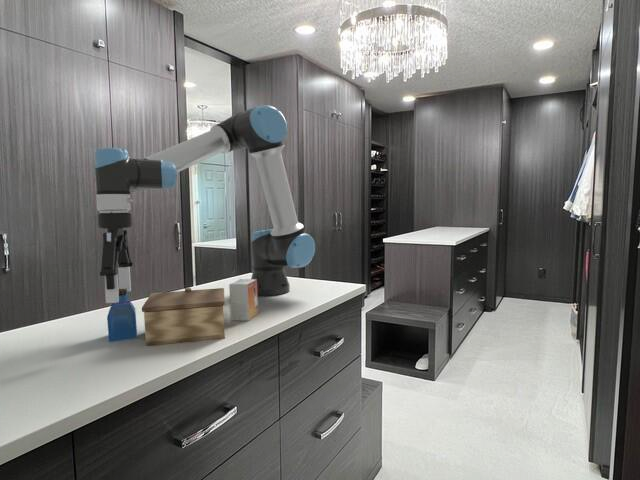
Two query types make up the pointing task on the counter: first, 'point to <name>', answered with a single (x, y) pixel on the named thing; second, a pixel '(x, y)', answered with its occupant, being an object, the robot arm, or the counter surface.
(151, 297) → the lid
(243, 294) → the small box
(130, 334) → the perfume bottle
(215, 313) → the box
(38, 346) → the counter surface
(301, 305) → the counter surface
